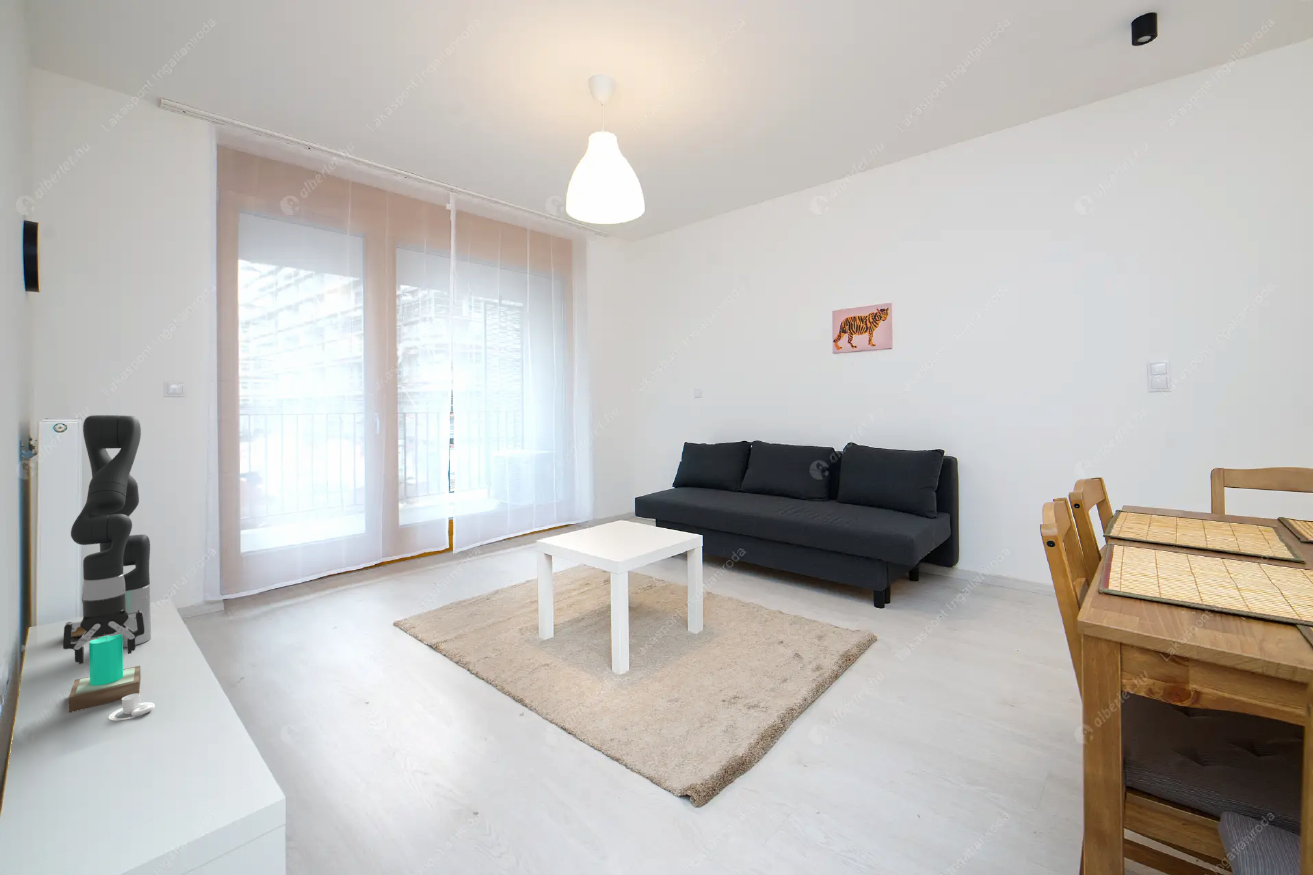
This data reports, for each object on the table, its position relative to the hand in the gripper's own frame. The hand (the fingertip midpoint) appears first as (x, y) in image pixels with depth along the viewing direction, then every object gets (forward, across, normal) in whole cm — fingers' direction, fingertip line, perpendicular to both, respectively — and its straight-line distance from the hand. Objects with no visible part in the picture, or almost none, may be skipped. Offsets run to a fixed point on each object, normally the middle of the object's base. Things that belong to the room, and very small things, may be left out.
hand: (106, 657), depth 136 cm
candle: (+6, 0, 0) cm, 6 cm away
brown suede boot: (+10, +5, -59) cm, 60 cm away
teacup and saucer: (+10, -4, +18) cm, 21 cm away
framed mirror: (+9, 0, 0) cm, 9 cm away
